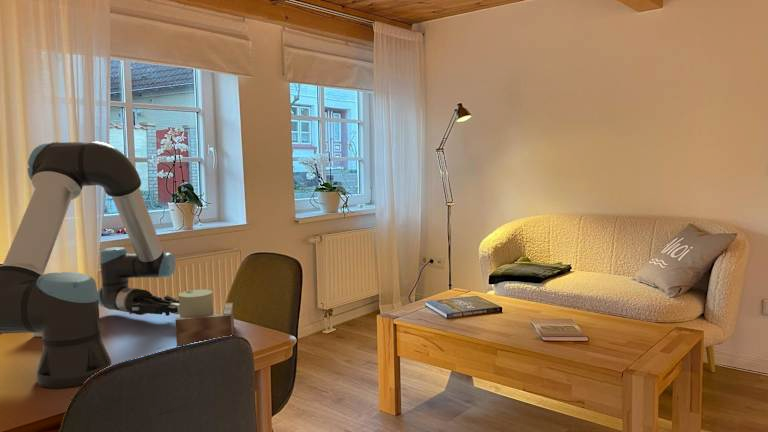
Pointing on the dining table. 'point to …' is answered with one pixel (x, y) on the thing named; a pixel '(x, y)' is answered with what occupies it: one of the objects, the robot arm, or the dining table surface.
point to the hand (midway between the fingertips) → (187, 310)
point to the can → (196, 303)
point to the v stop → (204, 326)
